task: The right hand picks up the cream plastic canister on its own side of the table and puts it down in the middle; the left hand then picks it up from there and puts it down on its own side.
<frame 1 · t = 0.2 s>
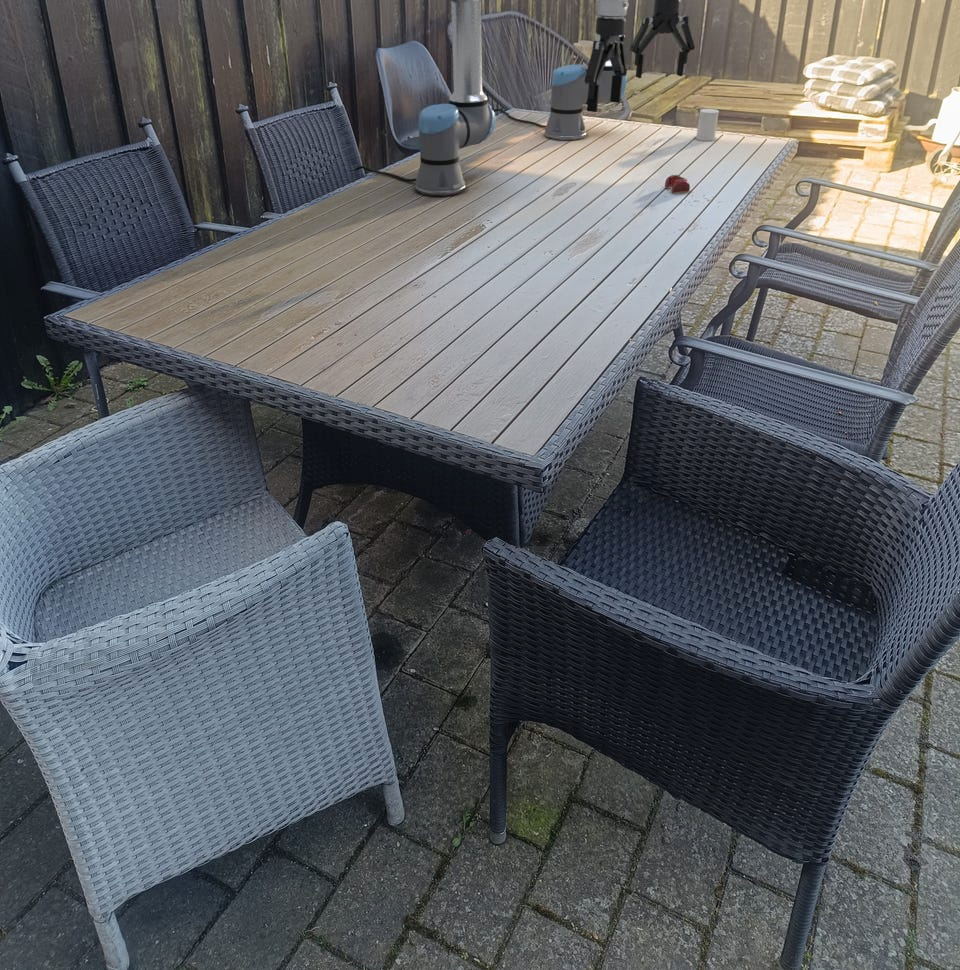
left hand: (603, 106, 226), 28 cm above the table, tool pointing down, fingers open, 13 cm apart
right hand: (659, 76, 261), 28 cm above the table, tool pointing down, fingers open, 13 cm apart
canister: (705, 138, 310), on the table
dental model: (676, 190, 258), on the table
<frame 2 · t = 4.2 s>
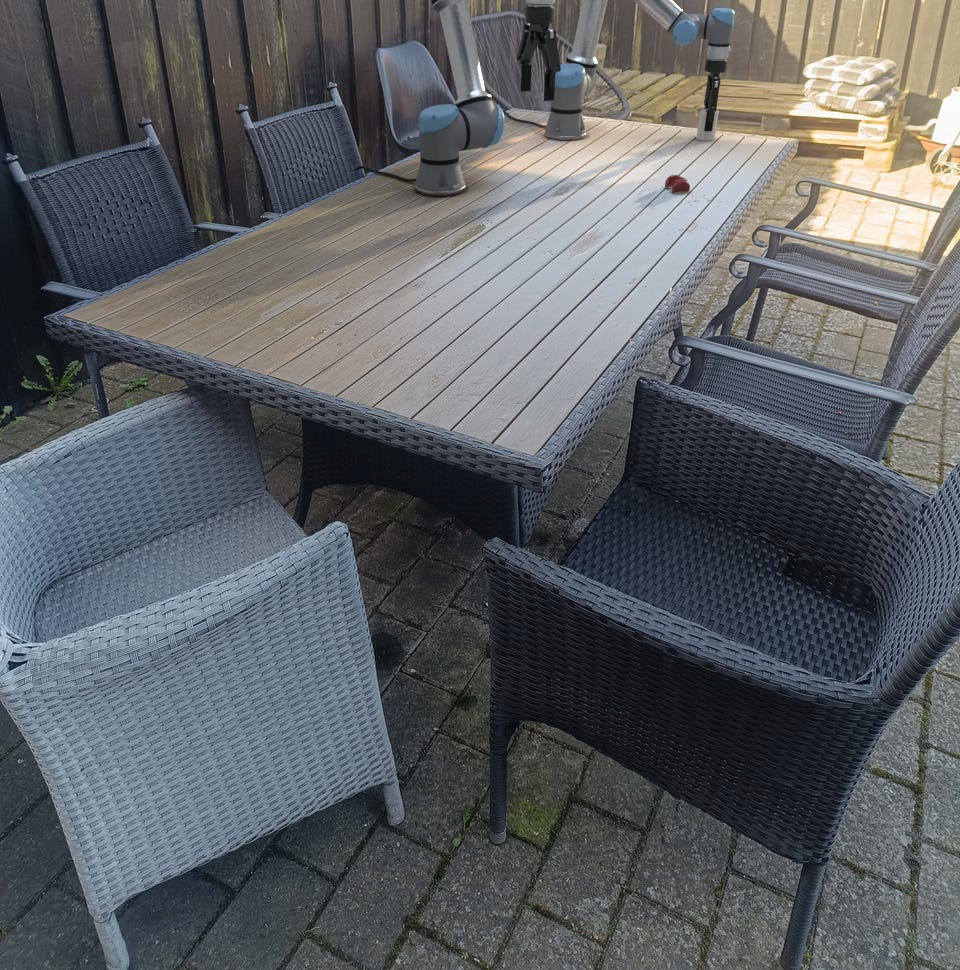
left hand: (537, 95, 226), 30 cm above the table, tool pointing down, fingers open, 13 cm apart
right hand: (706, 128, 308), 3 cm above the table, tool pointing down, fingers closed on canister, 7 cm apart
canister: (705, 138, 310), on the table, touching right hand
everything else where it was.
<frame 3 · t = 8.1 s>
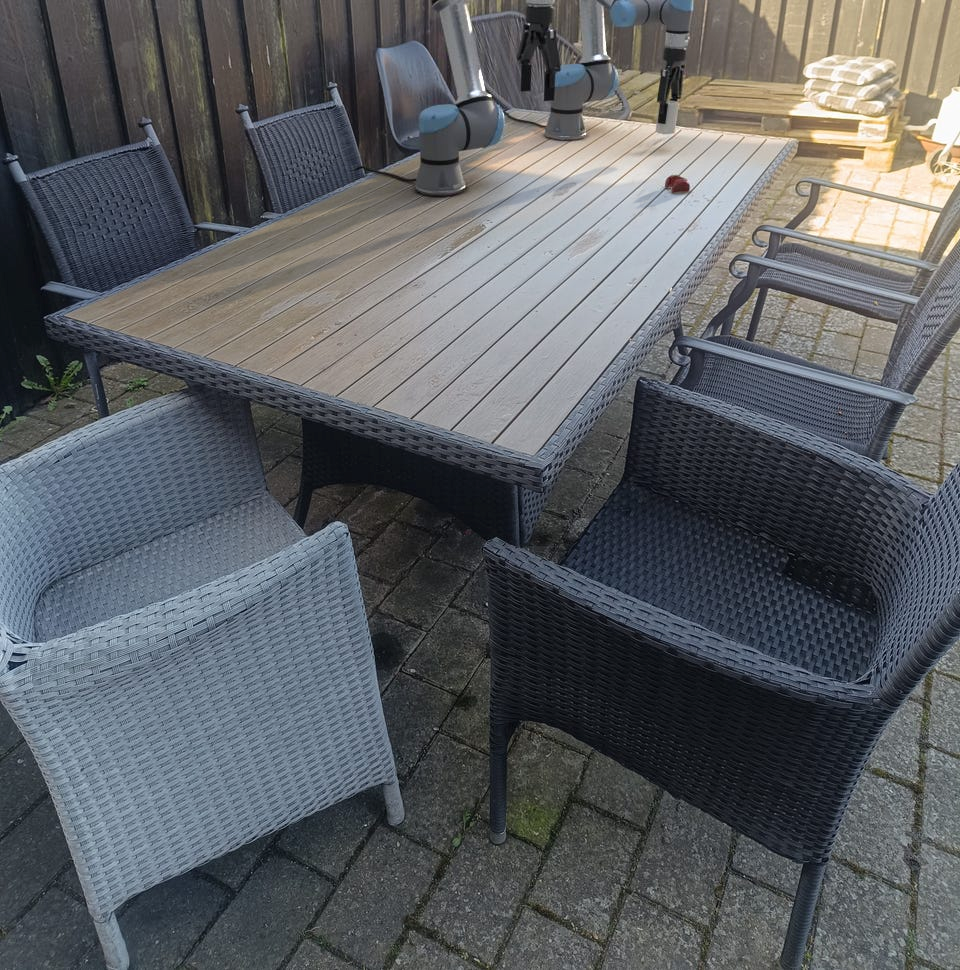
left hand: (537, 95, 226), 30 cm above the table, tool pointing down, fingers open, 13 cm apart
right hand: (666, 121, 290), 10 cm above the table, tool pointing down, fingers closed on canister, 7 cm apart
canister: (665, 131, 292), point 6 cm above the table, touching right hand
everything else where it was.
when the right hand's fingers open (5 cm above the table, at t = 12.3 s): canister drops 2 cm, on the table.
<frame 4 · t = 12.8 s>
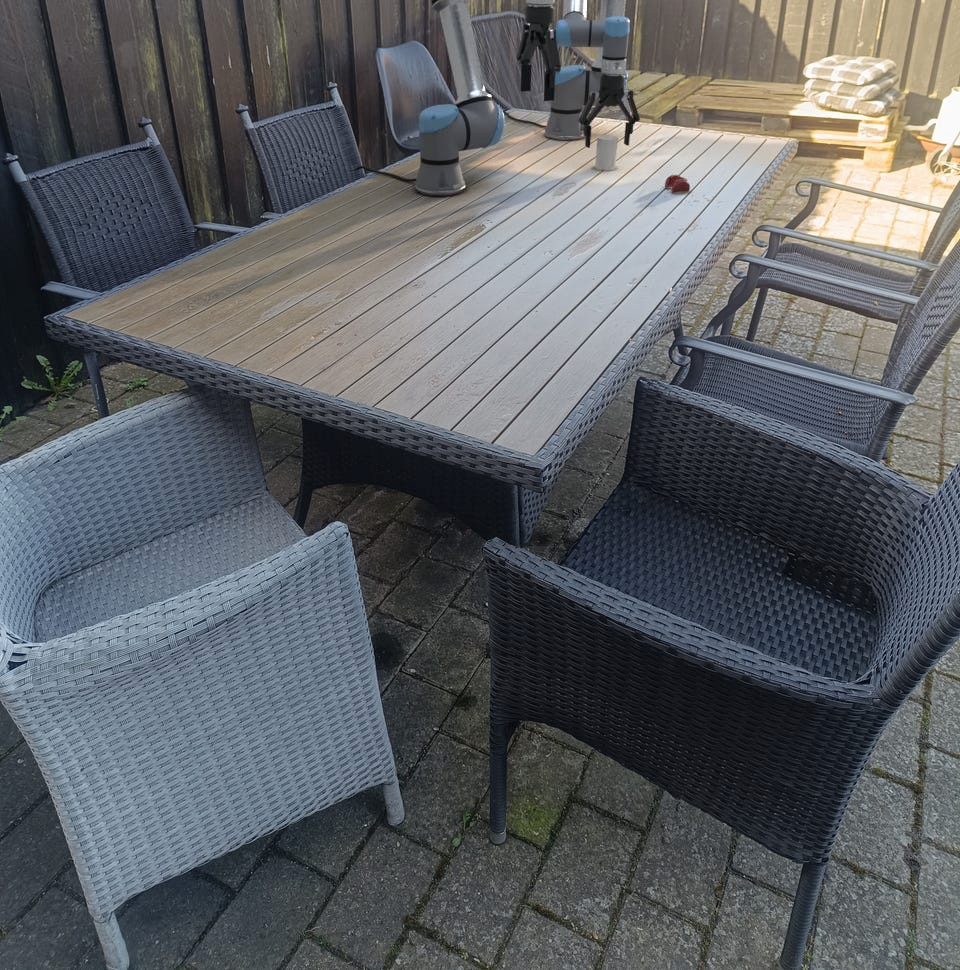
left hand: (537, 95, 226), 30 cm above the table, tool pointing down, fingers open, 13 cm apart
right hand: (607, 145, 274), 7 cm above the table, tool pointing down, fingers open, 13 cm apart
canister: (605, 167, 278), on the table
everything else where it was.
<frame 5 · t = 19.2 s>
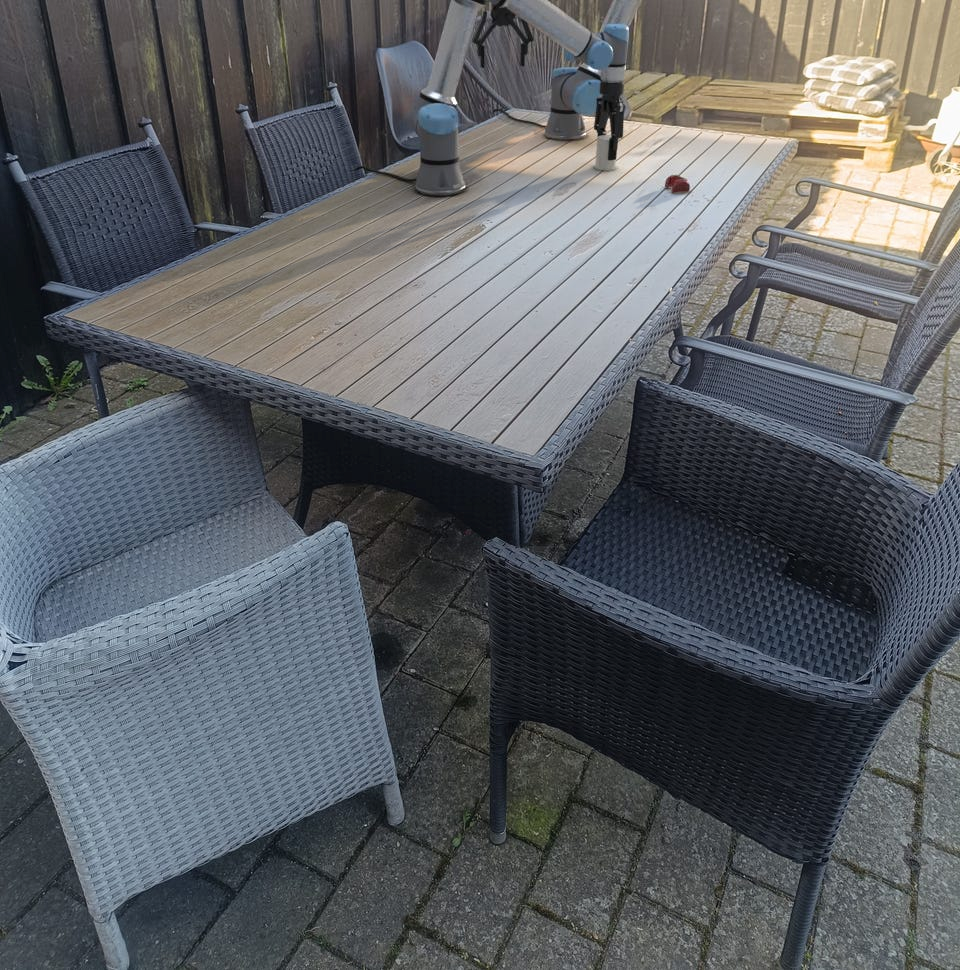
left hand: (606, 156, 276), 3 cm above the table, tool pointing down, fingers closed on canister, 7 cm apart
right hand: (502, 66, 279), 27 cm above the table, tool pointing down, fingers open, 13 cm apart
canister: (605, 167, 278), on the table, touching left hand
everything else where it was.
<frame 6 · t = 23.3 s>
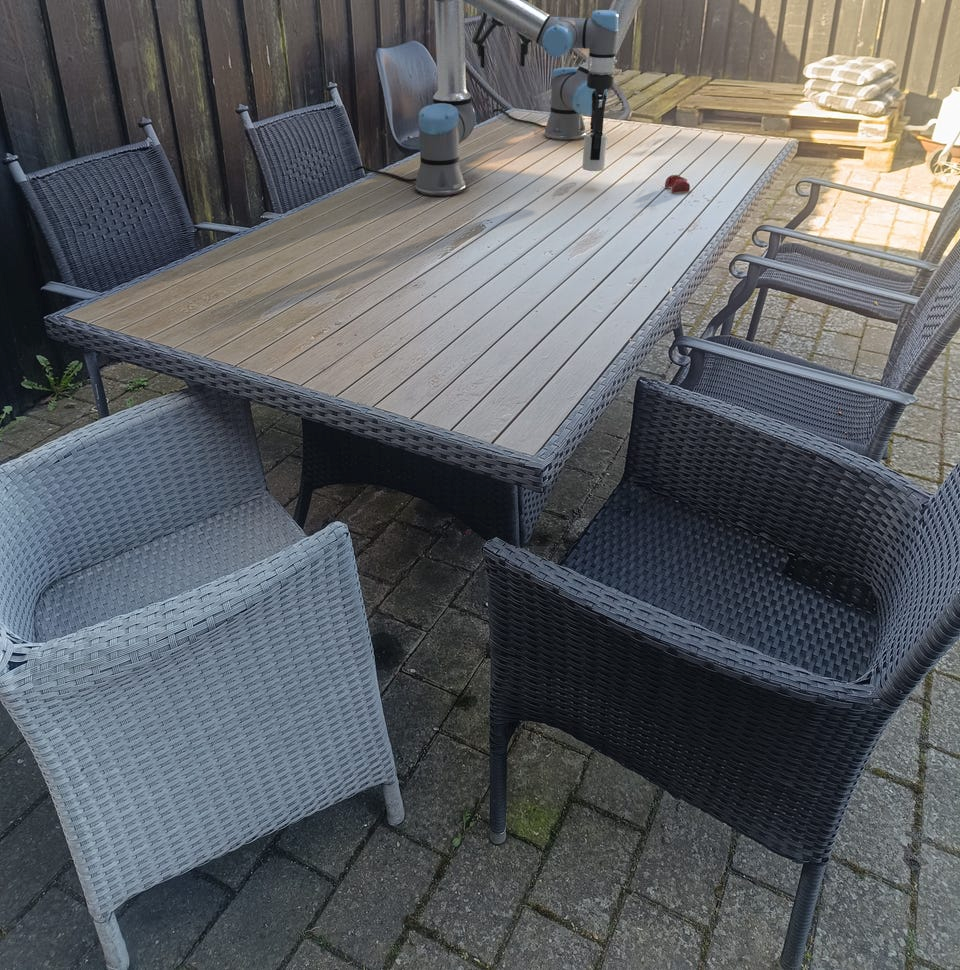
left hand: (594, 156, 254), 10 cm above the table, tool pointing down, fingers closed on canister, 7 cm apart
right hand: (502, 66, 279), 27 cm above the table, tool pointing down, fingers open, 13 cm apart
canister: (593, 168, 256), point 6 cm above the table, touching left hand
everything else where it was.
when the left hand's fingers open (5 cm above the table, at t = 27.7 s): canister drops 2 cm, on the table.
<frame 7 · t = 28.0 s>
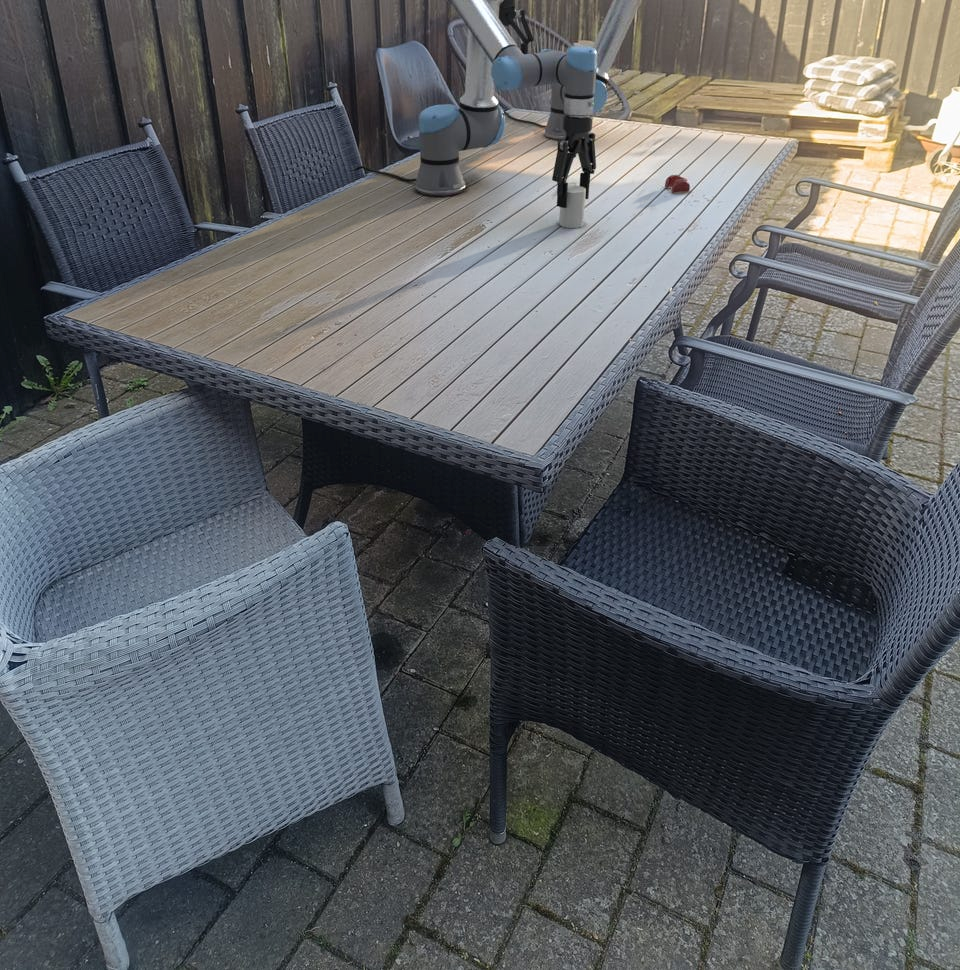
left hand: (572, 202, 229), 6 cm above the table, tool pointing down, fingers open, 9 cm apart
right hand: (502, 66, 279), 27 cm above the table, tool pointing down, fingers open, 13 cm apart
canister: (571, 224, 233), on the table
everything else where it was.
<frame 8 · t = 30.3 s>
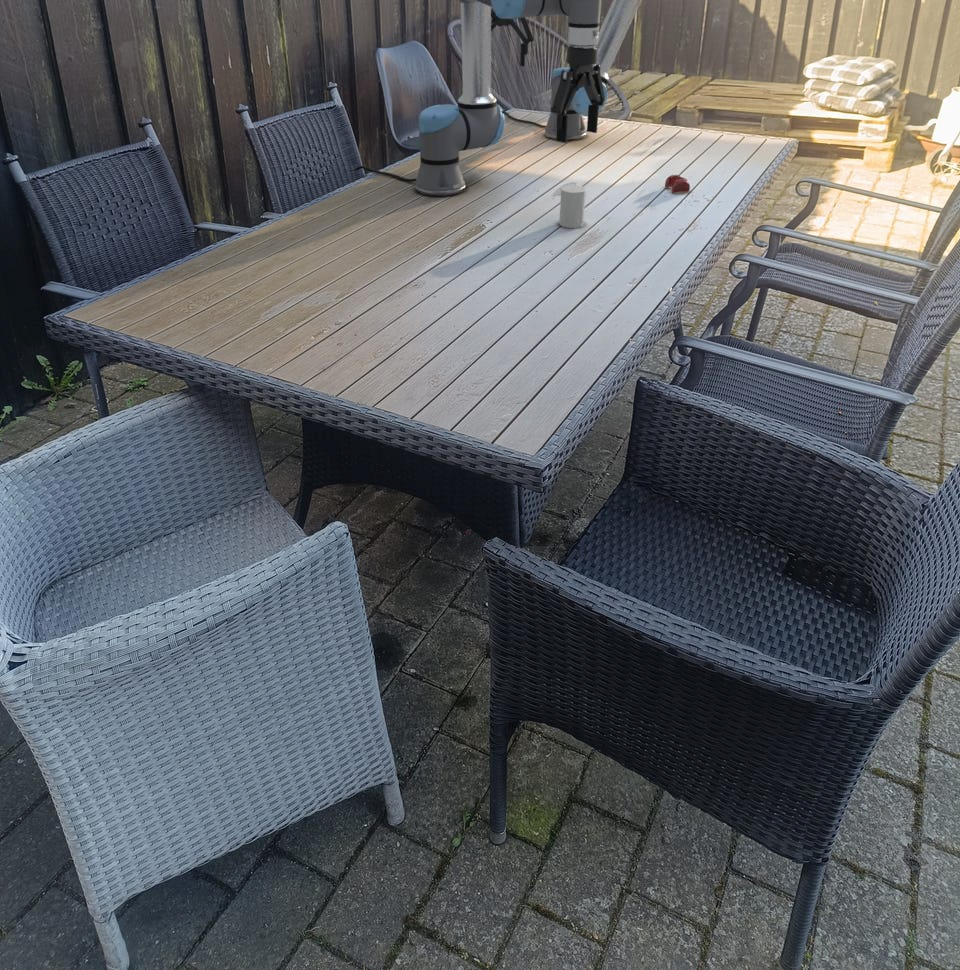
left hand: (576, 136, 219), 23 cm above the table, tool pointing down, fingers open, 13 cm apart
right hand: (502, 66, 279), 27 cm above the table, tool pointing down, fingers open, 13 cm apart
nothing on the table moved.
at the end: canister inside the target area (0.0 cm from its centre), on the table; canister tilted 0°; the two hands never held the canister at the same time; the left hand is holding nothing; the right hand is holding nothing; canister at rest at the end (0.0 cm/s) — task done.
